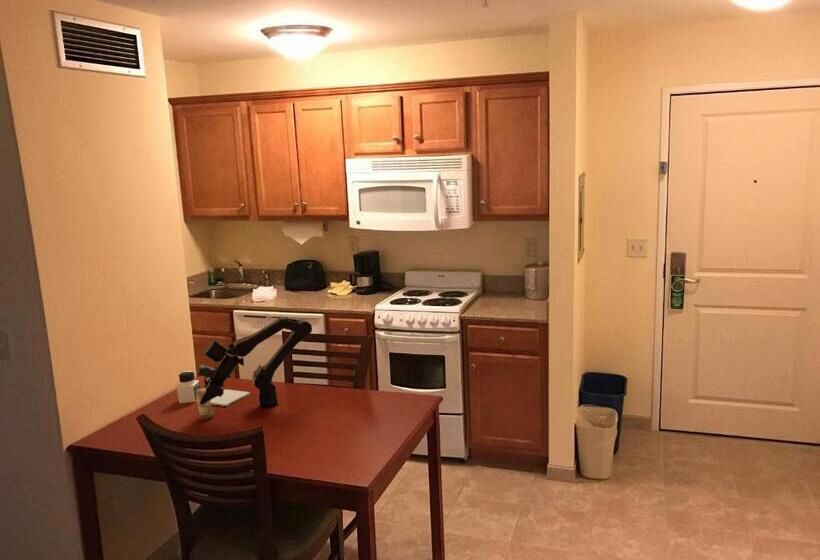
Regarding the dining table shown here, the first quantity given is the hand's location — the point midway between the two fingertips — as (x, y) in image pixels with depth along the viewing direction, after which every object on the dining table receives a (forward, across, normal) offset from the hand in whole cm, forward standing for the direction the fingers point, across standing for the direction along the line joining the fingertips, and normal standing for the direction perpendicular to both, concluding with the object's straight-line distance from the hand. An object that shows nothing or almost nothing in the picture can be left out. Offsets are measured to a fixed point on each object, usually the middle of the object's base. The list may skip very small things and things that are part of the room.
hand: (200, 401), depth 254 cm
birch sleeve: (+4, 0, +6) cm, 7 cm away
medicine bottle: (+8, -26, +2) cm, 27 cm away
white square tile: (-2, -18, +12) cm, 21 cm away
